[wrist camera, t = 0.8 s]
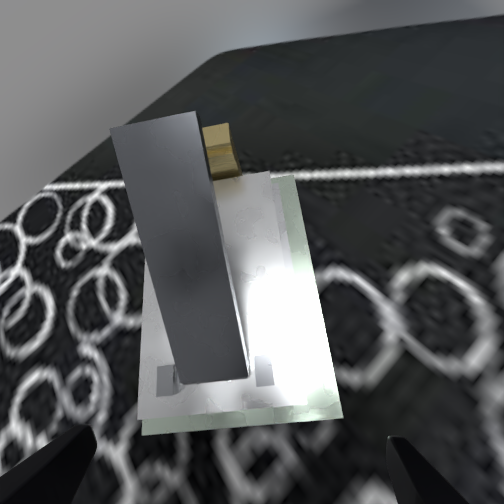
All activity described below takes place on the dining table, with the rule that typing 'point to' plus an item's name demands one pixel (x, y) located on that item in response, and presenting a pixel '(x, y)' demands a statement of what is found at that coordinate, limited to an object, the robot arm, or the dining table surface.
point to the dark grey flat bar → (184, 244)
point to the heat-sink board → (248, 315)
